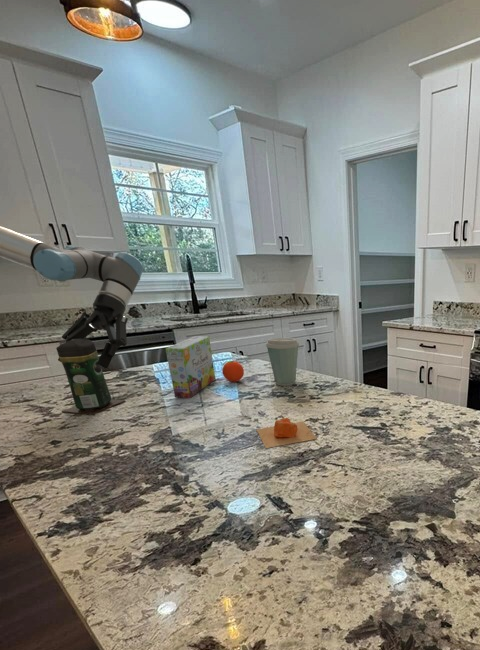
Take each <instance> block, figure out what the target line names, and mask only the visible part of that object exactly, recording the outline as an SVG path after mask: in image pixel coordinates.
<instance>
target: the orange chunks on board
mask: <svg viewBox="0 0 480 650" xmlns="http://www.w3.org/2000/svg"><path fill="white" fill-rule="evenodd" d="M256 431H257V433H258V436H259V438H260V440H261V441H262V444H263V446H264V448H265V449H270V448H275V447H280V446H285V445H290V444H297V443H301V442H306V441H307V442H308V441H311V440H317V439H318V438H317V437H316V435H315V434H314V433H313V432H312V430H311V428H309V426H308V425H307V424H306V422H305V421H298V422H292V421H291V420H290V418H289V417H283V418H282V419H280V420H277V419H276V420H275V421H274V425H273V426H267V427H263V428H257V429H256Z"/></svg>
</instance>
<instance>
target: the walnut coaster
mask: <svg viewBox="0 0 480 650" xmlns="http://www.w3.org/2000/svg"><path fill="white" fill-rule="evenodd" d="M125 402H126V399H116V398H115V399H114V398H111V401H110V402H109V403H108V404H107V405H105V406H104V407H100V408H95V409H92V410H83V409H77V408H76V405H75V406H72V407H68V408H66V409H63V410H61V413H66V414H75V415H85V416H93V415H95V414H98V413H100V412H104V411H105V410H107V409H110V408H113V407H116V406H118V405H121V404H123V403H125Z"/></svg>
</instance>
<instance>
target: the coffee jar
mask: <svg viewBox="0 0 480 650" xmlns="http://www.w3.org/2000/svg"><path fill="white" fill-rule="evenodd" d="M55 350H56V352H57V355H58V359H60V360H61V362H60V363H61V364H62V367H63V370H64V373H65V376H66V378H67V381H68V385H69V389H70V391H71V396H72V399H73V402H74V405H75V406H76V408H77V409H83V410H92V409H95V408H100V407H104V406H105V405H107V404H108V403H109V402H110V401H111V399H112V396H111V392H110V390H109V387H108V384H107V381H106V378H105V375H104V372H103V369H102V366H101V365H99V364H98V363H97V362H98V360H99V353H98V350H97V347H96V345H95V342H94V341H92V340H90V339H89V338H84V339H72V340H71V341H68V342H66V341H65V342H64V343H60V344H59V345H58V346H56V348H55Z"/></svg>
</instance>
